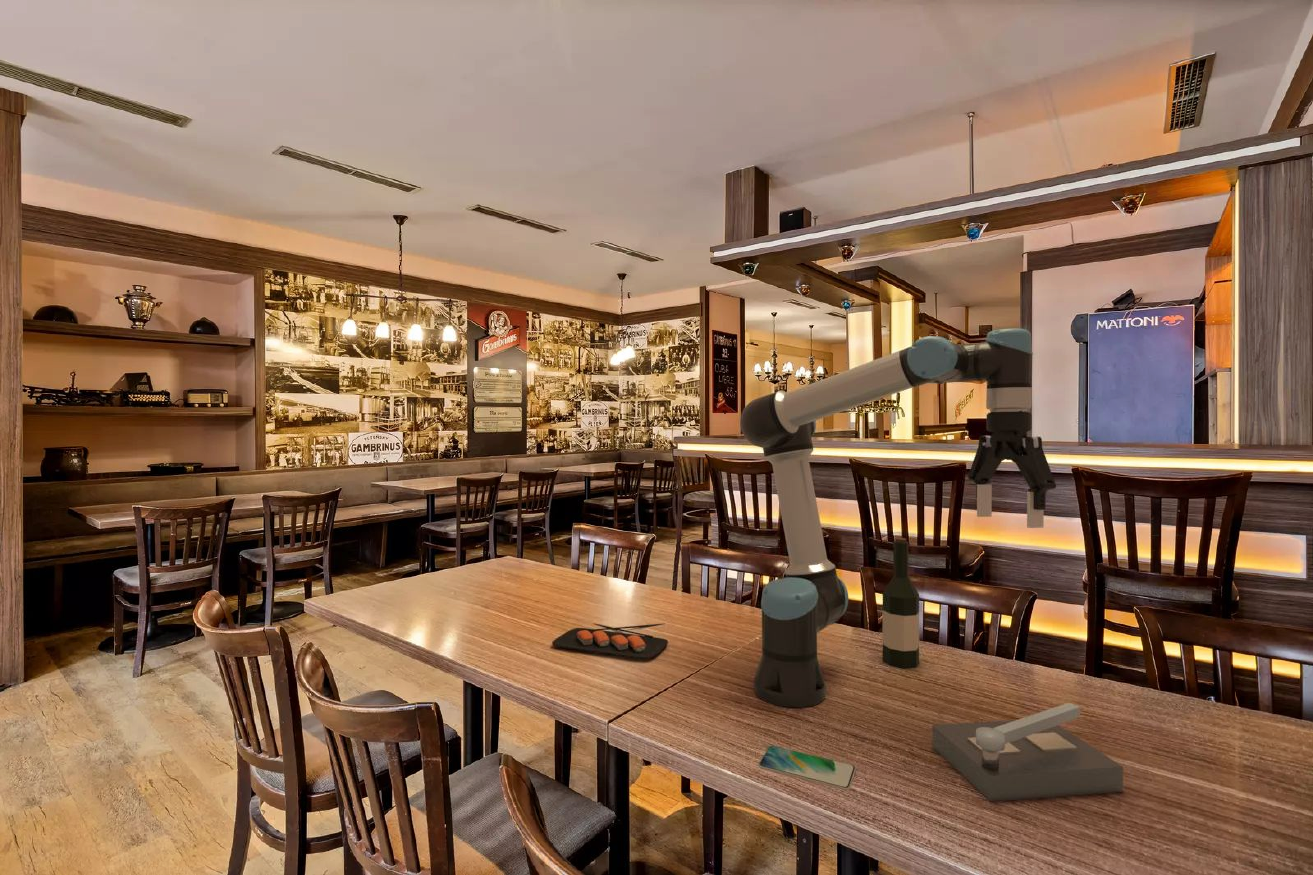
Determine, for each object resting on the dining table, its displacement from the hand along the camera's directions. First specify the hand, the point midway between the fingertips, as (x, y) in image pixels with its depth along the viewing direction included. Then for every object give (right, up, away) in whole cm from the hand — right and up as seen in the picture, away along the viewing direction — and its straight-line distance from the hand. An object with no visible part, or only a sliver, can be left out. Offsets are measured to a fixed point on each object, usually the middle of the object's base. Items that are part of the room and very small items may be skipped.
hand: (1008, 521), depth 118 cm
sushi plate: (-77, -39, +50) cm, 99 cm away
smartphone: (-42, -40, -15) cm, 60 cm away
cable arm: (-6, -32, -17) cm, 37 cm away
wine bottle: (-8, -38, +31) cm, 50 cm away
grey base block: (-7, -39, -15) cm, 42 cm away
